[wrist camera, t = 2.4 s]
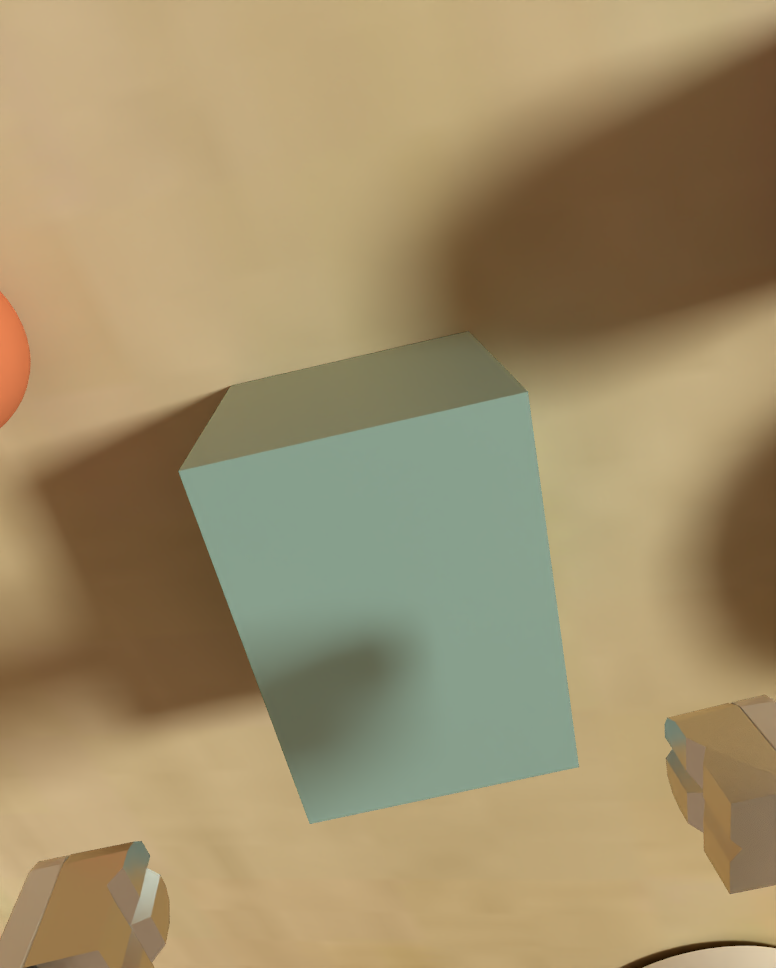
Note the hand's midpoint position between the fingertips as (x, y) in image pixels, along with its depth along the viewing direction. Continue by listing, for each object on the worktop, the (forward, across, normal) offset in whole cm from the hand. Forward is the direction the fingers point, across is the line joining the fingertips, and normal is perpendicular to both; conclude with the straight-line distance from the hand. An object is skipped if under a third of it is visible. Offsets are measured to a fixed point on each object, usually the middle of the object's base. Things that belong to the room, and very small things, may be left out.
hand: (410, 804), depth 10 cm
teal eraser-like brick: (+12, 0, +1) cm, 12 cm away
